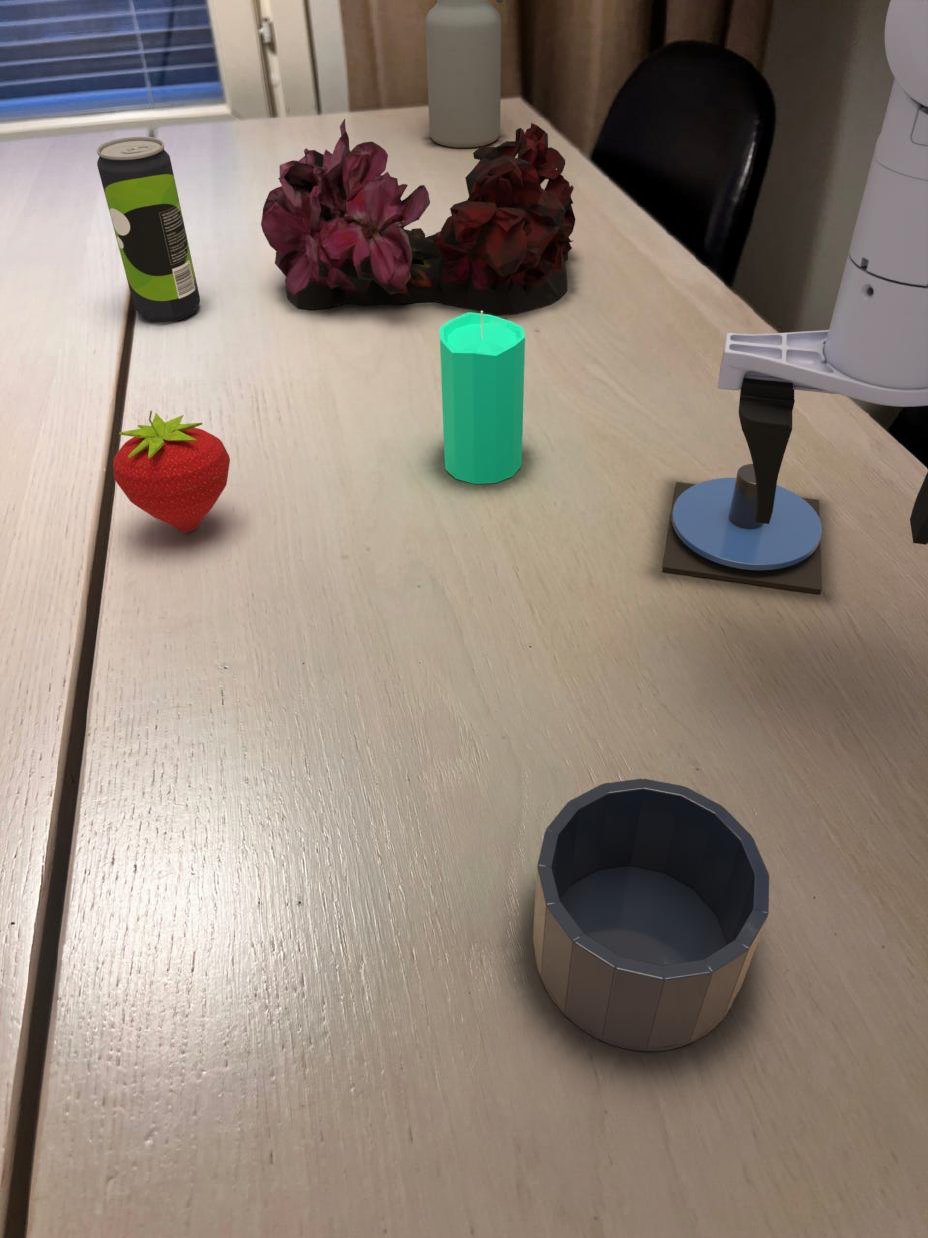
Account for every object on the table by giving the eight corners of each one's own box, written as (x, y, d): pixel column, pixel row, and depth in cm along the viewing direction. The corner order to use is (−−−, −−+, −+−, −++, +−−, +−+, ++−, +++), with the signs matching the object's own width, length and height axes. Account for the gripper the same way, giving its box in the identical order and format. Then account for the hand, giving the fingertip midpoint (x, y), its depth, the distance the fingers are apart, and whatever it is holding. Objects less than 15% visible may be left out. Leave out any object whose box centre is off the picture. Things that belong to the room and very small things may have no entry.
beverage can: (195, 292, 96) (160, 131, 86) (207, 317, 92) (172, 151, 81) (132, 304, 94) (89, 140, 84) (141, 330, 90) (97, 161, 80)
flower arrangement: (555, 236, 105) (563, 85, 95) (602, 314, 91) (616, 145, 80) (271, 258, 102) (247, 104, 92) (272, 342, 87) (243, 170, 77)
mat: (817, 504, 68) (819, 499, 67) (820, 594, 60) (821, 589, 60) (675, 486, 70) (676, 481, 69) (661, 571, 62) (662, 566, 62)
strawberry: (245, 548, 65) (217, 420, 58) (132, 564, 64) (90, 436, 57) (242, 499, 69) (215, 374, 62) (136, 513, 68) (97, 388, 61)
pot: (744, 883, 45) (771, 801, 41) (735, 1076, 39) (767, 1003, 34) (553, 844, 47) (560, 762, 43) (515, 1022, 41) (518, 947, 36)
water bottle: (499, 126, 136) (501, -122, 117) (506, 147, 128) (509, -113, 109) (428, 129, 135) (418, -120, 116) (431, 150, 128) (421, -111, 109)
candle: (433, 448, 74) (427, 299, 66) (506, 434, 75) (509, 287, 67) (456, 490, 70) (452, 336, 61) (533, 475, 71) (539, 323, 63)
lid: (817, 499, 67) (833, 442, 64) (819, 587, 60) (838, 528, 57) (677, 482, 69) (686, 425, 66) (663, 565, 62) (673, 507, 59)
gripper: (1089, 237, 41) (980, 496, 50) (745, 213, 44) (701, 462, 53) (1129, 307, 36) (1000, 579, 45) (739, 274, 39) (691, 537, 48)
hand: (839, 522), depth 49 cm, fingers open, 7 cm apart
